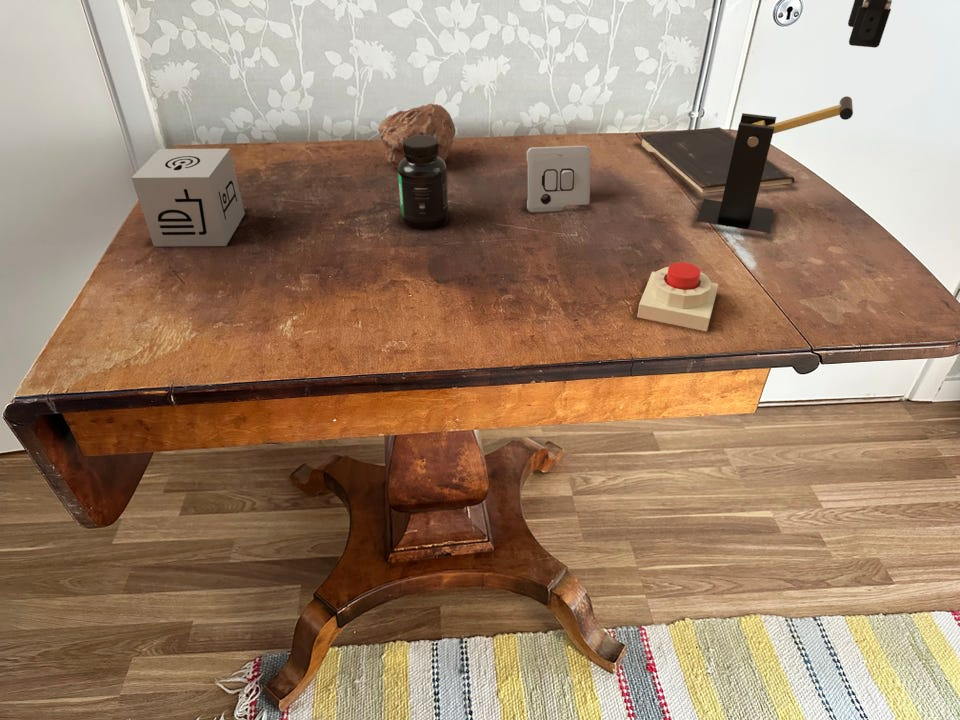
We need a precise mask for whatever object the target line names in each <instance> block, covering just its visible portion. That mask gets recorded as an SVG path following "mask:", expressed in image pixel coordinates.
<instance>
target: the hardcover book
mask: <svg viewBox="0 0 960 720" xmlns="http://www.w3.org/2000/svg"><path fill="white" fill-rule="evenodd" d="M639 136H640V138H641V139H642V140H641V144H640V147H641V148H643V149H644V150H645V152H649V153H655V154H656V155H657V156H658V157H660V158H661V159H662V160H663V161H664V162H666V163H667V164H668V165H669V166H670V167H671V168H672V169H674V170H675V171H676V172H677V173H678V174H679V175H681V176H682V177H683V178H684V180H686V181H687V182H689V183H690V184H691V185H692V186H694V188H695V189H697V190H698V191H699V192H700V193H702V194H707V193H715V192H716V193H717V192H724V189H725V185H726V180H727V176H728V171H729V167H730V162H731V158H732V153H733V149H734V144H735V140H736V136H733V134H731V133H729V132H728V131H726V130H724V128H722V127H720V126H718V127H706V128H697V129H686V130H685V129H684V130H675V131H664V132H663V131H662V132H653V133H642V134H640V135H639ZM794 183H795V177H794V176H792V175H791V174H790V173H788V172H787V171H785V170H784V169H782V168H780V167H779V166H778V165H776V164H775V163H774V162H772V161H771V160H770V159H768V158H767V159H766V163H765V167H764V171H763V175H762V179H761V183H760V187H759V188H761V187H769V186H778V185H788V184H789V185H790V184H794Z"/></svg>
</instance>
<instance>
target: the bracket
mask: <svg viewBox="0 0 960 720" xmlns="http://www.w3.org/2000/svg"><path fill="white" fill-rule="evenodd" d="M763 120H764V121H765V125H766V126H764V125H756V124H753V123H756V122H759V121H763ZM776 121H777V116H771V115H762V114H753V113H745V112H743V113H741V117H740V122H739V123H738V126H737V132H736V136H735V138H736V140H735V144H734V149H733V153H732V158H731V162H730V167H729V171H728V176H727V180H726V185H725V189H724V191H723V195H722V199H721V201H720V200H715V199H707V198H703V200H702V203H701V205H700V210H699V211H698V215H697V218H696V222H699V223H706V224H710V225H718V226H723V227H730V228H736V229H741V230H749V231H753V232H754V231H755V232H761V233H766V234H770V233H771V230H772V221H773V217H774V209H773V208H768V207H761V206H756V203H757V199H758V195H759V190H760V188H761V187H760V183H761V179H762V175H763V171H764V167H765V163H766V159H767V160H768V155H769V151H770V148H771V144H772V140H773V136H774V134H773V132H774V127H772V126H768V125H772V124H775V123H776Z"/></svg>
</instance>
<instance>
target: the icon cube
mask: <svg viewBox="0 0 960 720" xmlns="http://www.w3.org/2000/svg"><path fill="white" fill-rule="evenodd" d="M131 180H132V183H133V187H134V190H135V193H136V196H137V199H138V203H139V206H140V208H141V212H142V215H143V217H144V221H145V224H146V226H147V227H146V228H147V230H148V233H149V236H150V239H151V243H152V245H153V246H152V247H154V248H155V247H157V248H158V247H227V245H228V243H229V242H230V240H231V239H232V238H233V235H234V233H235V232H236V230H237V228H238V227H239V225H240V223H241V221H242V220H243V218H244V217H245V215H246V212H245V208H244V204H243V199H242V196H241V190H240V186H239V181H238V177H237V173H236V168H235V165H234V159H233V156H232V151H231V148H158V149H157V150H156V152H154V154H152V156H151V157H150V158H148V160H147V161H146V162H145V163H144V164H143V165H142V166H141V167H140V168H139V170H137V171H136V172H135V174H133V176H132V177H131Z"/></svg>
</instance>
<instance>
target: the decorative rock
mask: <svg viewBox="0 0 960 720" xmlns="http://www.w3.org/2000/svg"><path fill="white" fill-rule="evenodd" d="M377 130H378V134H379V138H380V139H381V141H382V143H383V147H384V155H385V159H386V160H387V162H388V163H389V164H390V165H391V166H392V167H394V168H396V170H398V165H399V163H400V161H401V160H402V159H403V158H405V157H404V155H403V141H404V140H405V139H406V138H408V137H411V136H417V135H427V136H432V137H435V138H437V140H438V145H439V155H438V156H439V157H440V158H442V159H443V160H444V162H446V160H447V157H448V156H449V155H450V152H451V151H452V147H453V146H452V145H453V141H454V138H455V136H456V131H457V130H456V125H455V123H454V122H453V119H452V116H451V114H450V113H449V112H448V110H447V109H446V108H445V107H443V105H440V104H438V103H436V104H434V103H428V104H427V105H423V104H422V105H420V106H418V107H412V108H410V109H407V110H399V111H397V112H395V113H393V114H389V115H388V116H387V117H385V118H384V119H382V120H381V122H380V124H379V126H378V128H377Z"/></svg>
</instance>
